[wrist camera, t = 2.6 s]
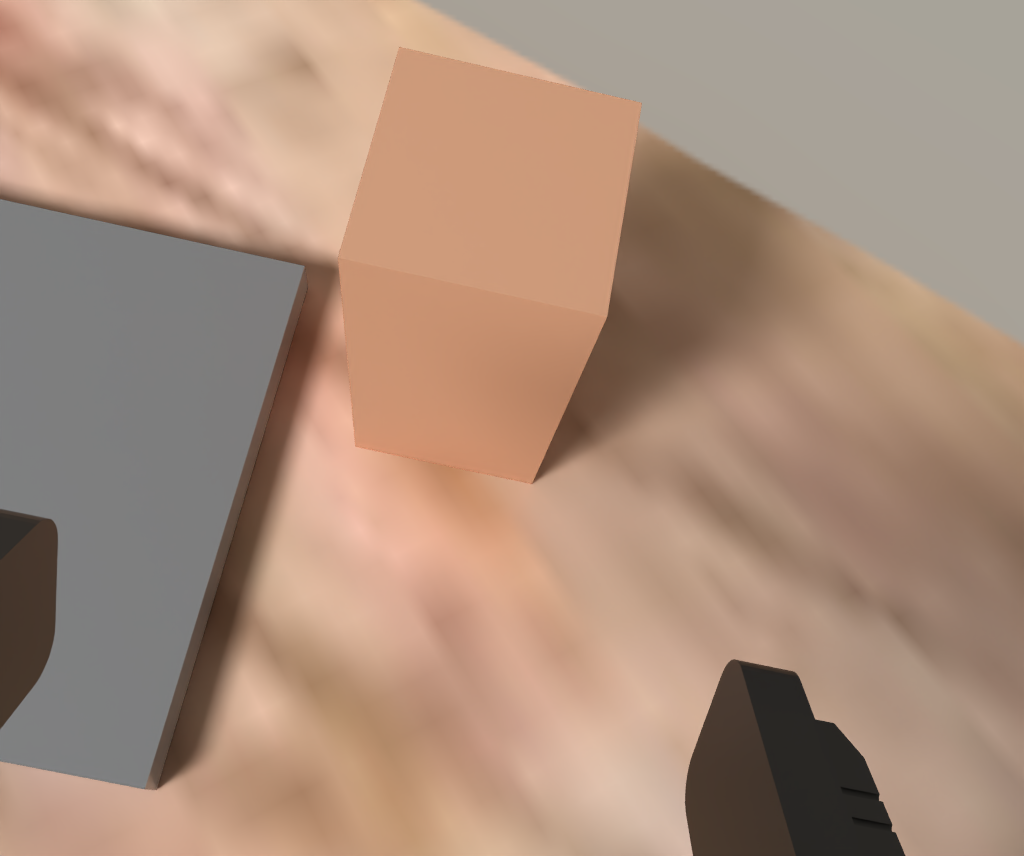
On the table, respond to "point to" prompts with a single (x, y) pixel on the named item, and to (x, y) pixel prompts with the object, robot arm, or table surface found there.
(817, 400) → the table surface
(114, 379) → the slate tile
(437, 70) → the terracotta block
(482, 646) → the table surface
